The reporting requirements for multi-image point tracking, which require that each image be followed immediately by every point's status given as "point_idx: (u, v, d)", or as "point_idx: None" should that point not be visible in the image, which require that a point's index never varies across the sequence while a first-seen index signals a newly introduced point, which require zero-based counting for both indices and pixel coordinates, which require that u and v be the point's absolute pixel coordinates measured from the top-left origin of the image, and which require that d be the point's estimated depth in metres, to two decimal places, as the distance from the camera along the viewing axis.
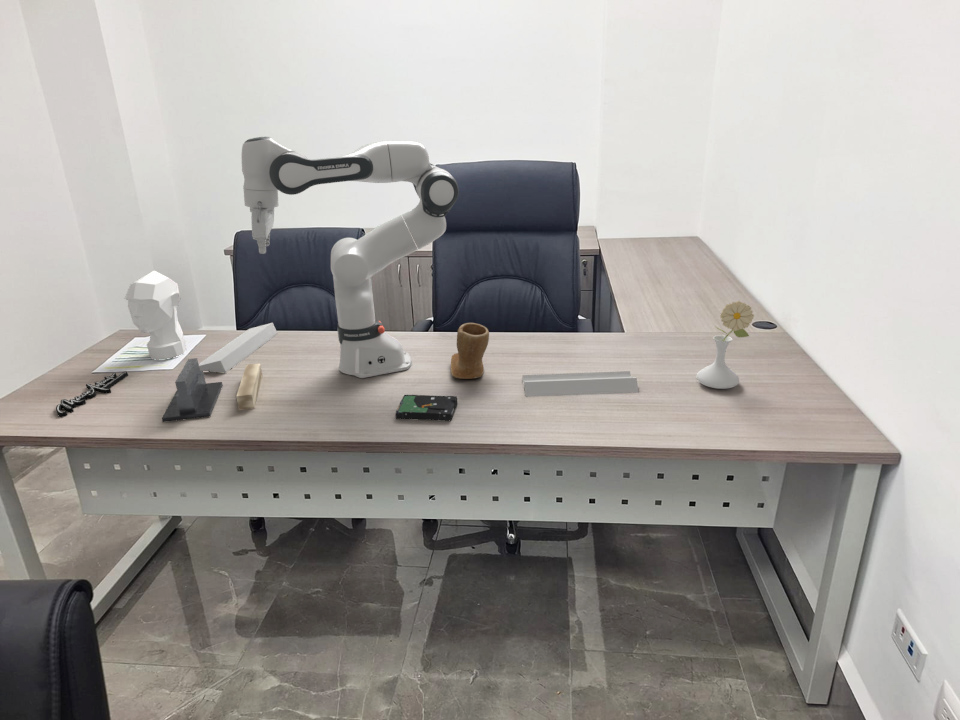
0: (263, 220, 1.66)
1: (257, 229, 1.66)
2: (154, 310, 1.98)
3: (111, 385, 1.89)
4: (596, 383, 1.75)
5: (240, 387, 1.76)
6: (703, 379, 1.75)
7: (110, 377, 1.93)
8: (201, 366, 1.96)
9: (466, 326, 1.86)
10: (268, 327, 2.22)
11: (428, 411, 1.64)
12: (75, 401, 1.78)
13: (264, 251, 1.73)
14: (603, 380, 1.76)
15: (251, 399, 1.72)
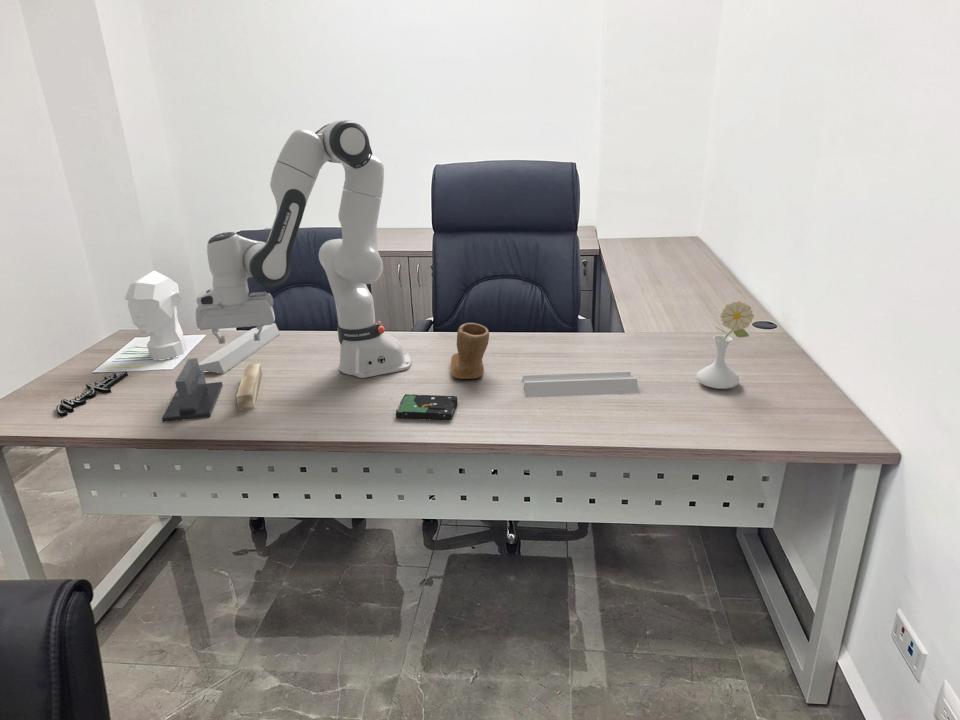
0: None
1: (273, 313, 1.75)
2: (154, 310, 1.98)
3: (111, 385, 1.89)
4: (596, 384, 1.75)
5: (240, 387, 1.76)
6: (703, 379, 1.75)
7: (110, 377, 1.93)
8: (200, 366, 1.96)
9: (466, 326, 1.86)
10: (270, 327, 2.21)
11: (428, 411, 1.64)
12: (75, 401, 1.78)
13: None
14: (603, 381, 1.75)
15: (251, 399, 1.72)
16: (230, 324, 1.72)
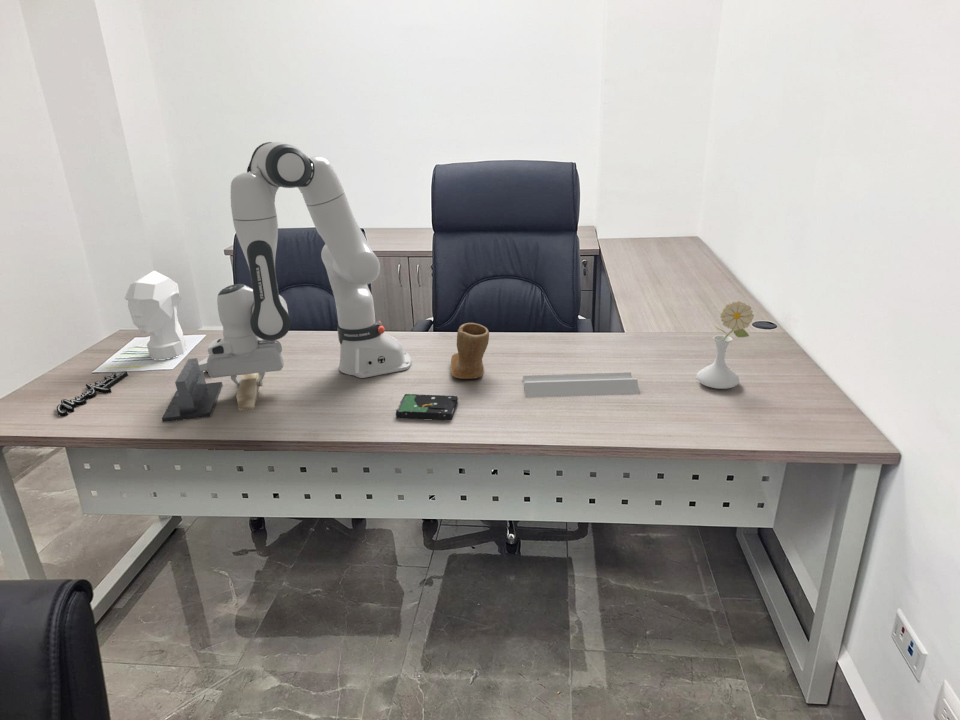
0: None
1: (281, 359, 1.80)
2: (154, 310, 1.98)
3: (111, 385, 1.89)
4: (596, 384, 1.75)
5: (240, 387, 1.76)
6: (703, 379, 1.75)
7: (110, 377, 1.93)
8: None
9: (466, 326, 1.86)
10: None
11: (428, 411, 1.64)
12: (76, 401, 1.78)
13: (262, 382, 1.83)
14: (603, 381, 1.75)
15: (251, 399, 1.72)
16: (241, 371, 1.78)
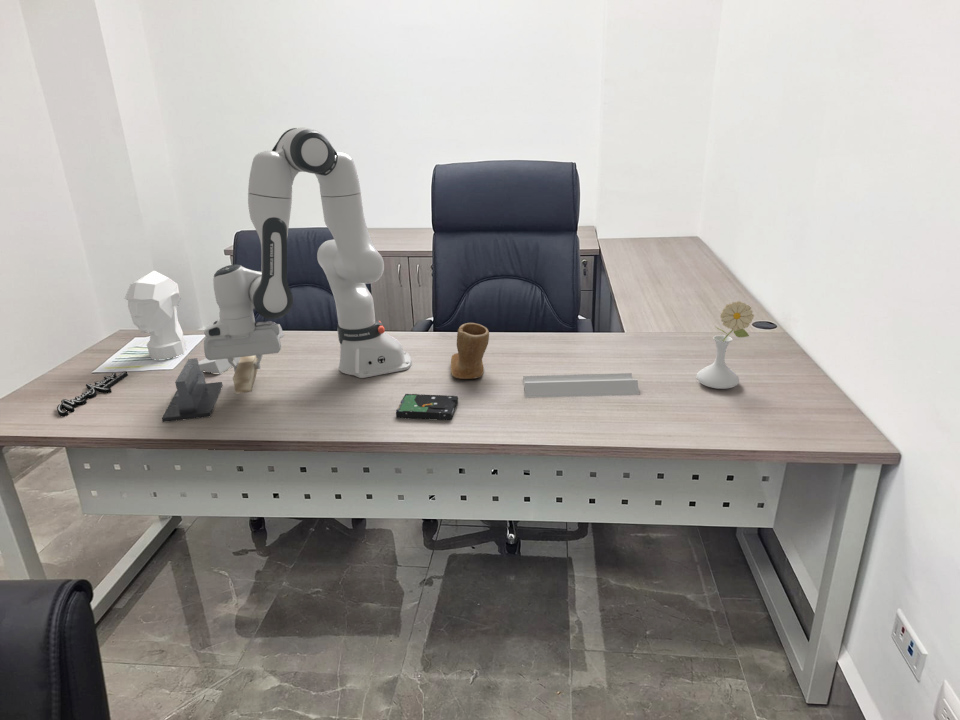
0: None
1: (279, 341, 1.78)
2: (154, 310, 1.98)
3: (111, 385, 1.89)
4: (596, 385, 1.74)
5: (237, 369, 1.74)
6: (703, 379, 1.75)
7: (110, 377, 1.93)
8: None
9: (466, 326, 1.86)
10: None
11: (428, 410, 1.64)
12: (76, 401, 1.78)
13: None
14: (604, 382, 1.75)
15: (248, 381, 1.70)
16: (238, 354, 1.76)
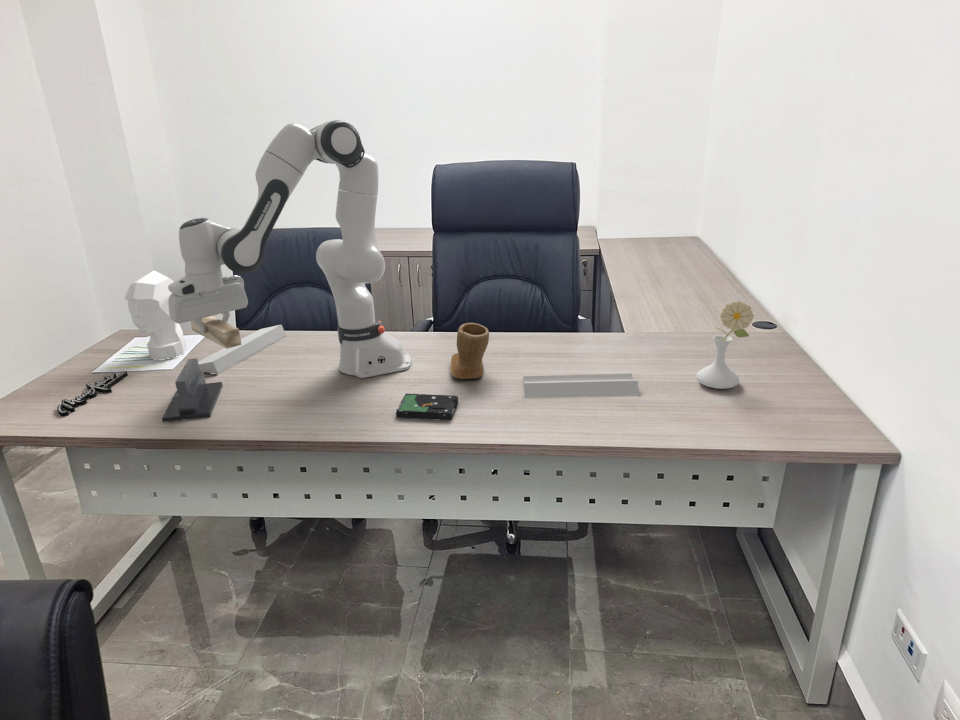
0: None
1: None
2: (154, 310, 1.98)
3: (111, 385, 1.89)
4: (596, 385, 1.74)
5: (216, 327, 1.67)
6: (703, 379, 1.75)
7: (110, 377, 1.93)
8: None
9: (466, 326, 1.86)
10: (275, 329, 2.19)
11: (428, 410, 1.64)
12: (76, 401, 1.78)
13: None
14: (604, 382, 1.74)
15: (238, 334, 1.66)
16: (208, 312, 1.68)
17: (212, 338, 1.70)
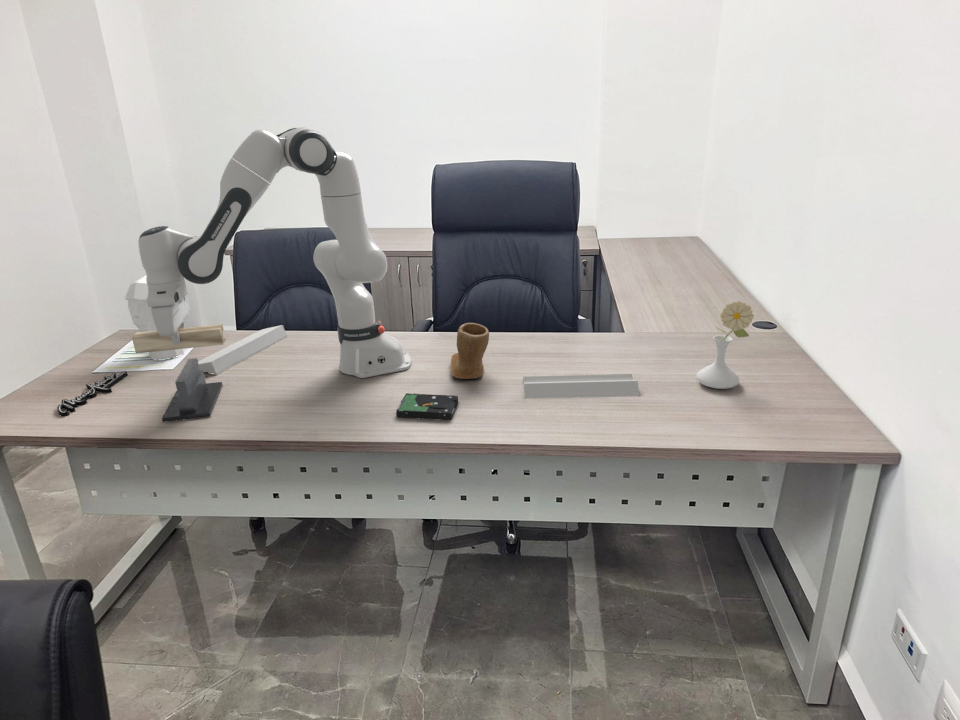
0: None
1: None
2: None
3: (111, 385, 1.89)
4: (597, 386, 1.74)
5: (198, 330, 1.68)
6: (703, 379, 1.75)
7: (110, 377, 1.93)
8: None
9: (466, 326, 1.86)
10: (276, 329, 2.19)
11: (428, 410, 1.65)
12: (76, 401, 1.78)
13: None
14: (604, 383, 1.74)
15: (223, 329, 1.73)
16: (180, 320, 1.66)
17: (189, 345, 1.69)
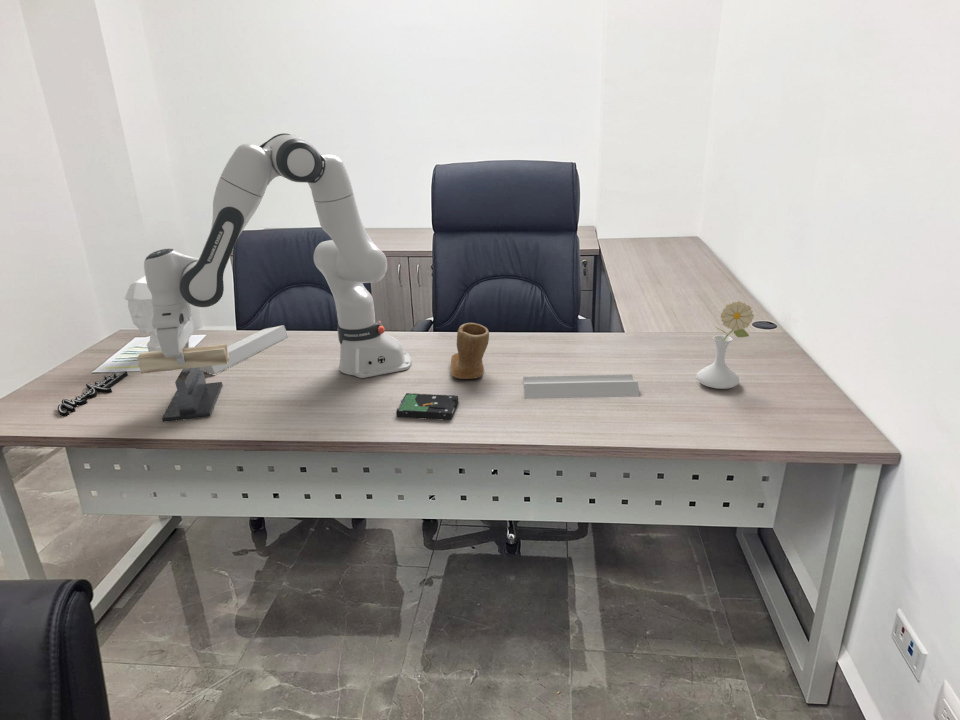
0: None
1: None
2: None
3: (111, 385, 1.89)
4: (597, 386, 1.74)
5: (202, 350, 1.70)
6: (703, 379, 1.75)
7: (110, 377, 1.93)
8: None
9: (466, 326, 1.86)
10: (277, 330, 2.19)
11: (428, 410, 1.65)
12: (76, 401, 1.78)
13: None
14: (604, 383, 1.74)
15: (227, 349, 1.75)
16: (185, 340, 1.69)
17: (194, 365, 1.71)
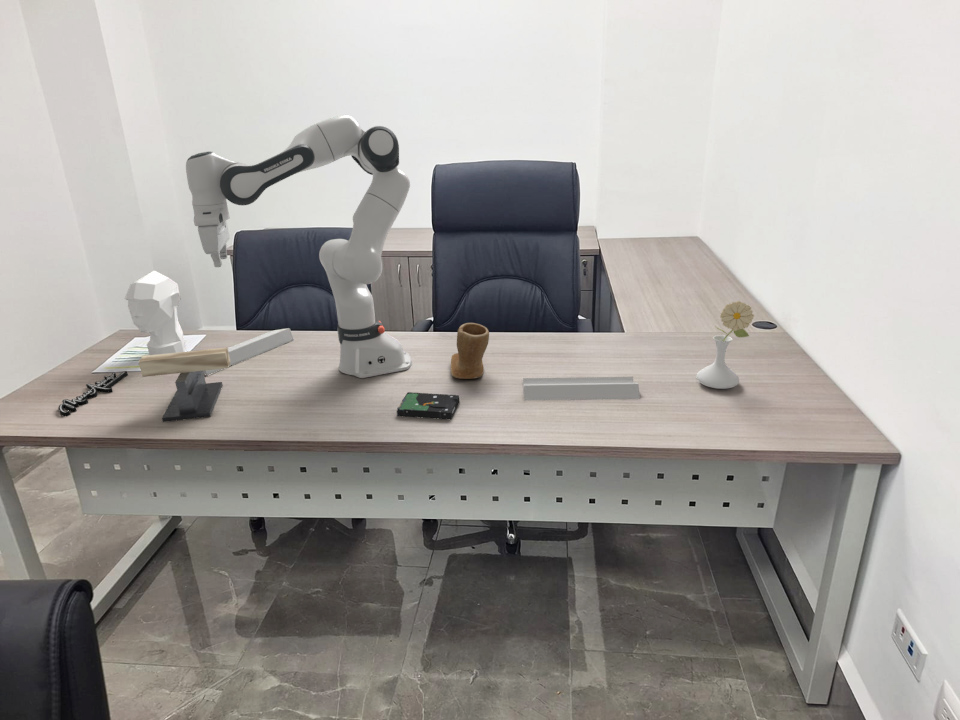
0: None
1: None
2: (154, 310, 1.98)
3: (112, 384, 1.89)
4: (597, 388, 1.72)
5: (203, 354, 1.71)
6: (703, 379, 1.75)
7: (110, 377, 1.93)
8: None
9: (466, 326, 1.86)
10: (281, 332, 2.16)
11: (429, 409, 1.65)
12: (77, 401, 1.78)
13: None
14: (604, 385, 1.73)
15: (228, 352, 1.75)
16: (223, 243, 1.77)
17: (195, 368, 1.72)
